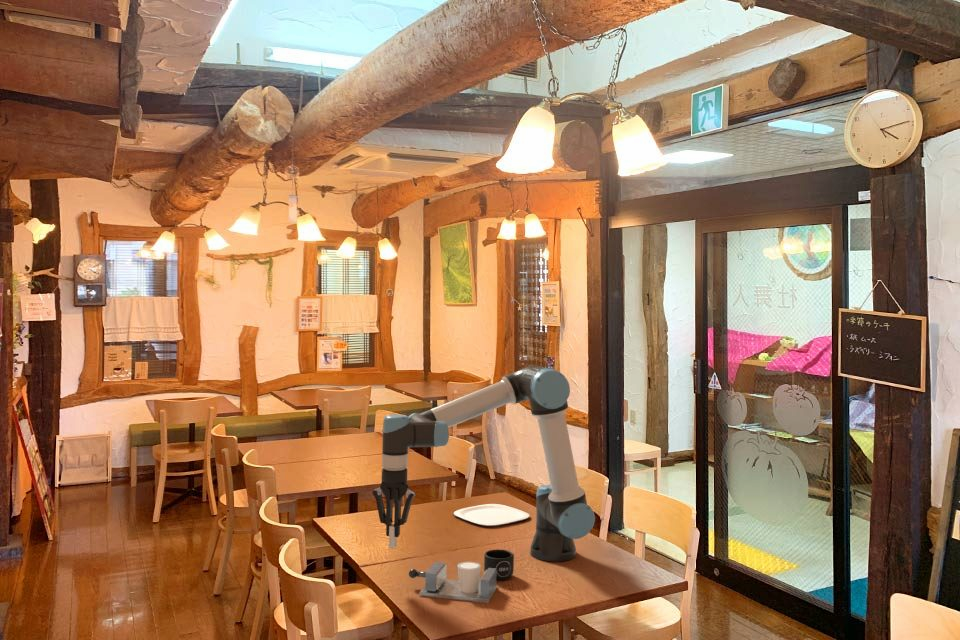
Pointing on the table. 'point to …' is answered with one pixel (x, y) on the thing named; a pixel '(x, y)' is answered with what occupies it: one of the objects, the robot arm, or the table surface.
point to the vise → (452, 591)
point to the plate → (491, 514)
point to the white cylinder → (468, 576)
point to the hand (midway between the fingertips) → (392, 547)
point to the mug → (500, 563)
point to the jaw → (432, 576)
